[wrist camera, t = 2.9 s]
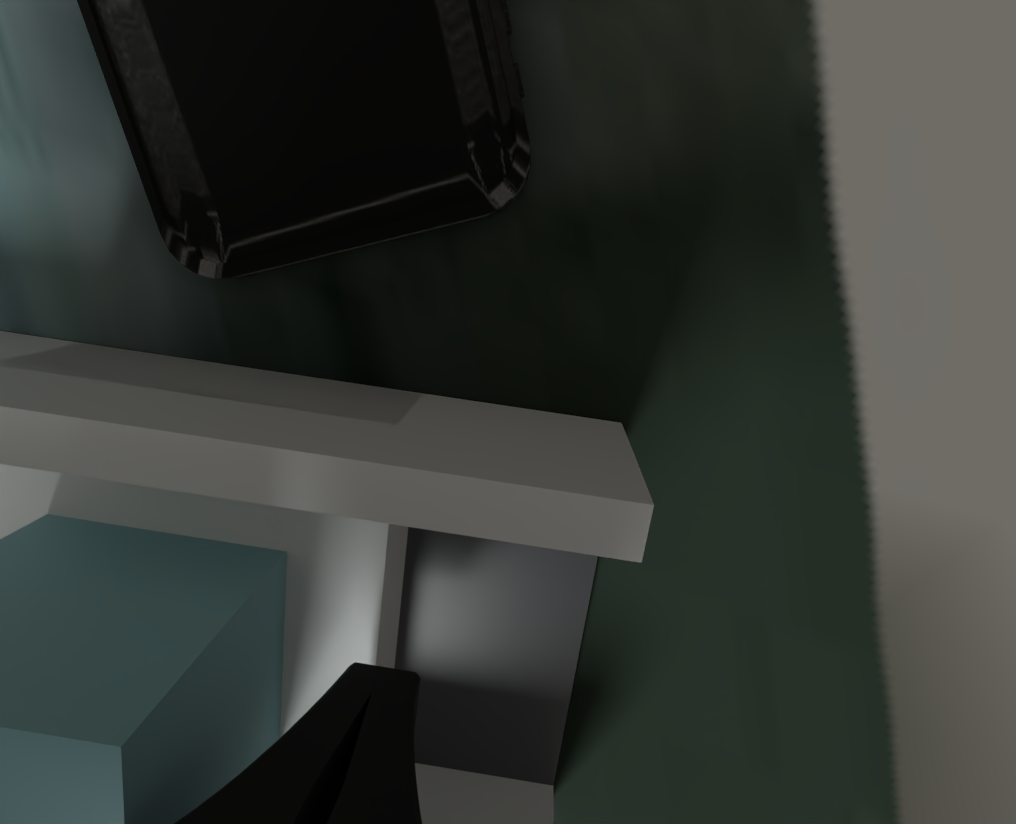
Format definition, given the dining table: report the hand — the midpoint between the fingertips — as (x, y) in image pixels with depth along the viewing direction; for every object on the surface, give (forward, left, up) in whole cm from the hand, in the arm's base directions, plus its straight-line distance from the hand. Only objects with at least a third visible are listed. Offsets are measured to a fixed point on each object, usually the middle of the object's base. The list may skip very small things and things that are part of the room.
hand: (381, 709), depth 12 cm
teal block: (-5, 0, -1) cm, 5 cm away
